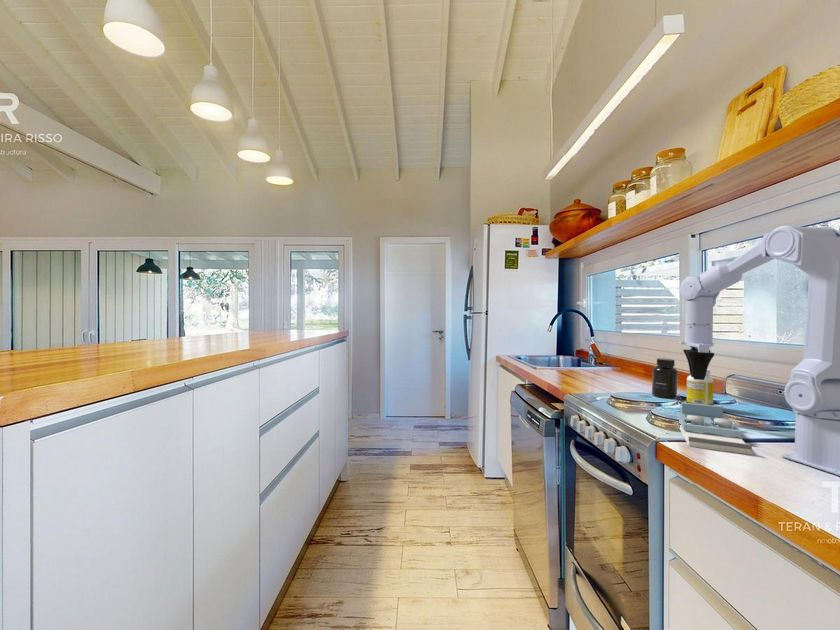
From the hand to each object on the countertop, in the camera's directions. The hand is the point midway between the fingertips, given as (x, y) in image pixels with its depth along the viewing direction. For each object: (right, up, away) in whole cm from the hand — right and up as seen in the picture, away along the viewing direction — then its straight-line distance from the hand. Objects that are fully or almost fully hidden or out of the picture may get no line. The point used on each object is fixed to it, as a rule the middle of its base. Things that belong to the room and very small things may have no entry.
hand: (697, 378), depth 99 cm
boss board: (-7, -11, -13) cm, 18 cm away
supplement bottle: (+8, -10, +26) cm, 29 cm away
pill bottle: (+10, -11, +13) cm, 19 cm away
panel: (-5, -9, -10) cm, 15 cm away
